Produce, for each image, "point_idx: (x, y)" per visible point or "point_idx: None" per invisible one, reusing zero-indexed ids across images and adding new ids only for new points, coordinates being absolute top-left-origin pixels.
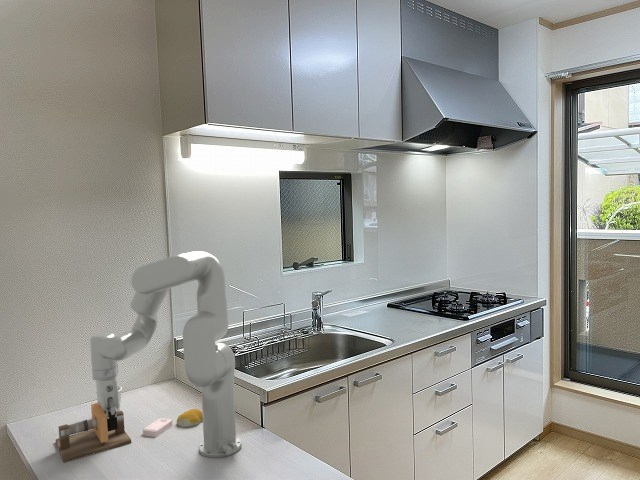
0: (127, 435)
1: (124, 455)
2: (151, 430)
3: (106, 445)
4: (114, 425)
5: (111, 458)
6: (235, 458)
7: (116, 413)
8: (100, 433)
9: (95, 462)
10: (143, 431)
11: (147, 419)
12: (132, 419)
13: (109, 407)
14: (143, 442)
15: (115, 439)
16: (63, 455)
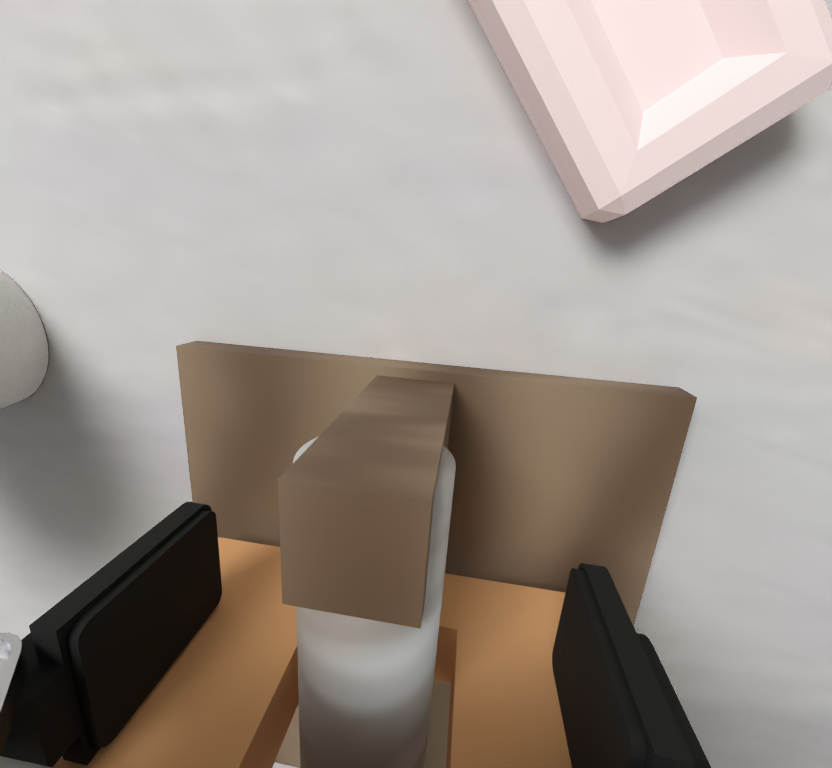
0: (553, 388)
1: None
2: (760, 122)
3: None
4: (655, 663)
5: (825, 613)
6: None
7: (368, 596)
8: None
9: (768, 702)
10: (622, 214)
11: (210, 26)
12: (122, 180)
13: (68, 622)
14: (787, 289)
15: (548, 501)
16: None
